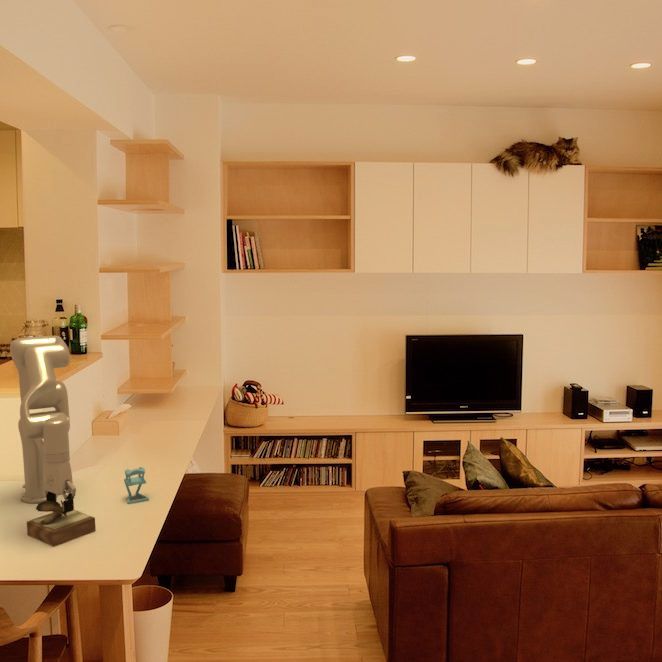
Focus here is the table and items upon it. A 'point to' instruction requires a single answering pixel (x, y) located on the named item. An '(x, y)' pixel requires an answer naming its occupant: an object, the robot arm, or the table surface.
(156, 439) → the table surface
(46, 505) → the eagle figurine
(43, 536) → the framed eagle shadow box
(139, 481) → the chair
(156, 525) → the table surface
